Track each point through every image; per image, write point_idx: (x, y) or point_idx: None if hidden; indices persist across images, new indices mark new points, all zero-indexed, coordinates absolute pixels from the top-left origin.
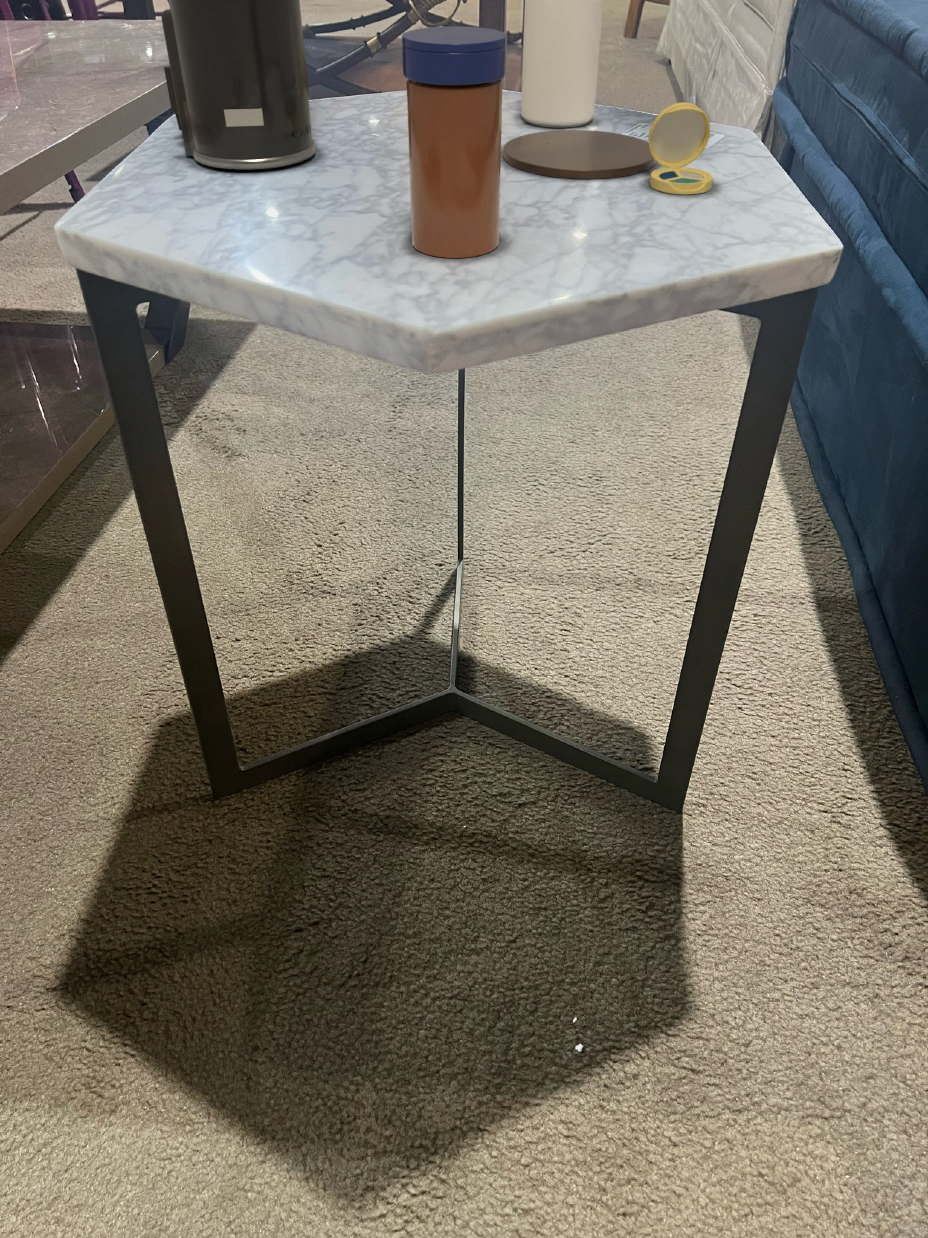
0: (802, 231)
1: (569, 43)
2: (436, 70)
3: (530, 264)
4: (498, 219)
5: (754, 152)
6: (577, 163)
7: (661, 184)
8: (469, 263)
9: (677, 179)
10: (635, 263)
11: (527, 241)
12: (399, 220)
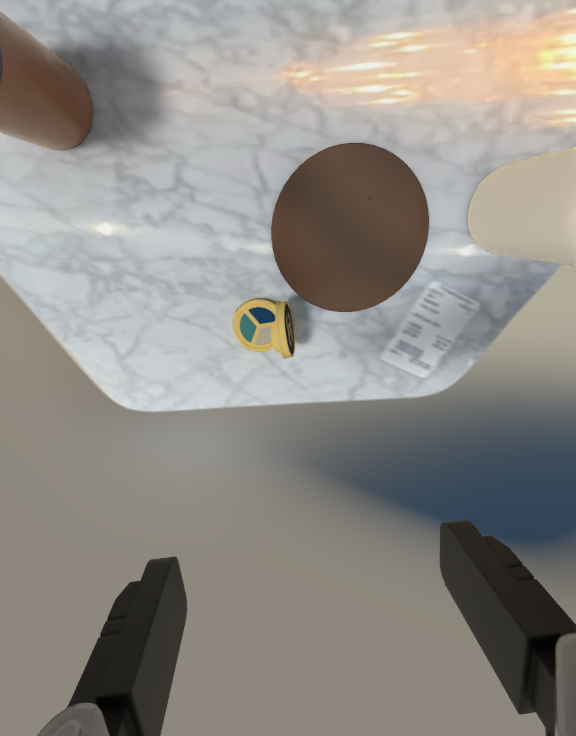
0: (156, 398)
1: (515, 217)
2: None
3: (20, 183)
4: (41, 145)
5: (366, 395)
6: (295, 230)
7: (239, 307)
8: None
9: (252, 322)
10: (50, 272)
11: (77, 179)
12: (103, 27)
